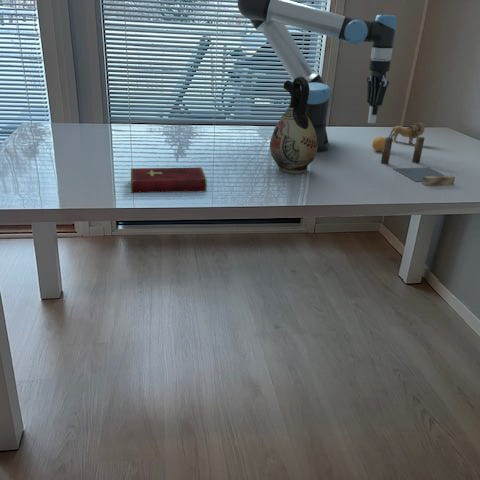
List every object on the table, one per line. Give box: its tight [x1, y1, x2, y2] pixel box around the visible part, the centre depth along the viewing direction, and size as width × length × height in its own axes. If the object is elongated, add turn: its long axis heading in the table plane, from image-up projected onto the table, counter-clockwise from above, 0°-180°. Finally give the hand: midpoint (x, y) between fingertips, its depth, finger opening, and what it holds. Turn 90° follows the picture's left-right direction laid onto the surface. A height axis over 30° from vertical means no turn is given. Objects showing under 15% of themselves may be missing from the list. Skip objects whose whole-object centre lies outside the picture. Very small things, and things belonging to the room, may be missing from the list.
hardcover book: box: [130, 166, 208, 194], centre depth 141 cm, size 12×21×4 cm, turn 101°
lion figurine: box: [388, 122, 426, 146], centre depth 201 cm, size 15×5×9 cm, turn 68°
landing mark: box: [392, 166, 445, 183], centre depth 163 cm, size 14×14×1 cm
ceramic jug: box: [269, 77, 318, 174], centre depth 154 cm, size 17×15×30 cm
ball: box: [371, 136, 386, 152], centre depth 188 cm, size 6×6×6 cm
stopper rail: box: [421, 174, 456, 187], centre depth 153 cm, size 10×2×2 cm, turn 104°
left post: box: [380, 136, 394, 165], centre depth 171 cm, size 3×3×9 cm
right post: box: [411, 136, 425, 164], centre depth 174 cm, size 3×3×9 cm
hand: (371, 122), depth 193 cm, fingers closed
